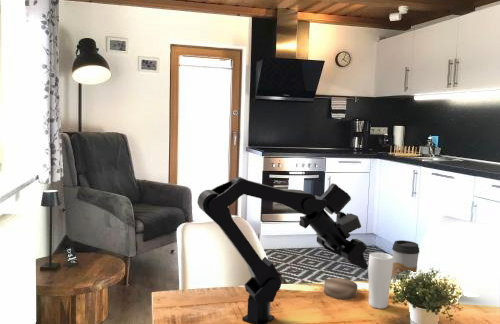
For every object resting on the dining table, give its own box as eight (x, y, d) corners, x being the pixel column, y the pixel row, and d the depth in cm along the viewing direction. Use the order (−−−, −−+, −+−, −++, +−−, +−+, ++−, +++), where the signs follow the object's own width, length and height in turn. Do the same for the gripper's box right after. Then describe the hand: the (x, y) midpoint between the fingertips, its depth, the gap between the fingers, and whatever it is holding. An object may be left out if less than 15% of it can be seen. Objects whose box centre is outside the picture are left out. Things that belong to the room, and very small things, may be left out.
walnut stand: (349, 302, 134) (350, 292, 134) (318, 294, 140) (319, 284, 140) (361, 292, 143) (361, 282, 142) (331, 284, 148) (332, 275, 148)
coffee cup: (384, 287, 147) (387, 242, 146) (398, 282, 153) (401, 238, 152) (408, 295, 141) (411, 248, 140) (421, 289, 147) (424, 244, 145)
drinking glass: (391, 311, 129) (394, 260, 127) (366, 309, 130) (369, 257, 129) (388, 302, 135) (392, 253, 134) (365, 299, 137) (368, 251, 135)
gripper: (362, 212, 117) (396, 251, 121) (327, 199, 134) (358, 234, 139) (334, 243, 115) (369, 282, 120) (302, 226, 133) (333, 260, 137)
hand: (357, 262), depth 129 cm, fingers open, 9 cm apart
